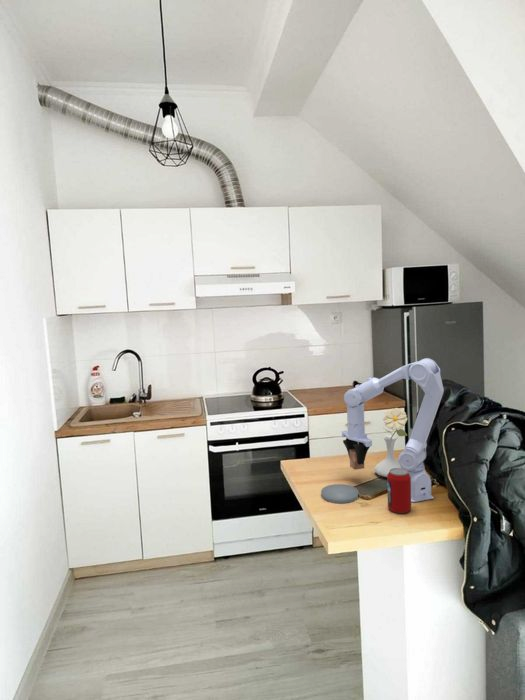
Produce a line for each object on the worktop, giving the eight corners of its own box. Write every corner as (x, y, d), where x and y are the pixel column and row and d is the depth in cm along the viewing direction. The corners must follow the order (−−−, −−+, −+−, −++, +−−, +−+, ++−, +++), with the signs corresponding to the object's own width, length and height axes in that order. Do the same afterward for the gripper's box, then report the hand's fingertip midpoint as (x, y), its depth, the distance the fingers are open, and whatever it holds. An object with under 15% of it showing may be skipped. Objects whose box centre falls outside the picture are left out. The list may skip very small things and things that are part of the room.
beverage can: (393, 503, 148) (392, 465, 147) (414, 508, 144) (414, 469, 143) (384, 511, 143) (383, 472, 142) (405, 516, 139) (405, 476, 137)
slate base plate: (365, 499, 151) (365, 495, 151) (330, 506, 148) (330, 501, 148) (348, 486, 163) (348, 482, 163) (315, 491, 159) (315, 487, 159)
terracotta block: (364, 468, 163) (363, 451, 162) (354, 469, 162) (354, 452, 161) (359, 464, 166) (358, 448, 166) (349, 466, 165) (349, 449, 165)
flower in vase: (367, 474, 172) (366, 407, 170) (387, 466, 179) (386, 401, 177) (398, 484, 162) (396, 412, 160) (417, 476, 169) (417, 406, 167)
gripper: (379, 426, 158) (379, 465, 159) (353, 417, 171) (354, 454, 172) (361, 429, 155) (362, 469, 156) (336, 420, 168) (337, 457, 169)
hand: (356, 461), depth 164 cm, fingers closed on terracotta block, 4 cm apart
